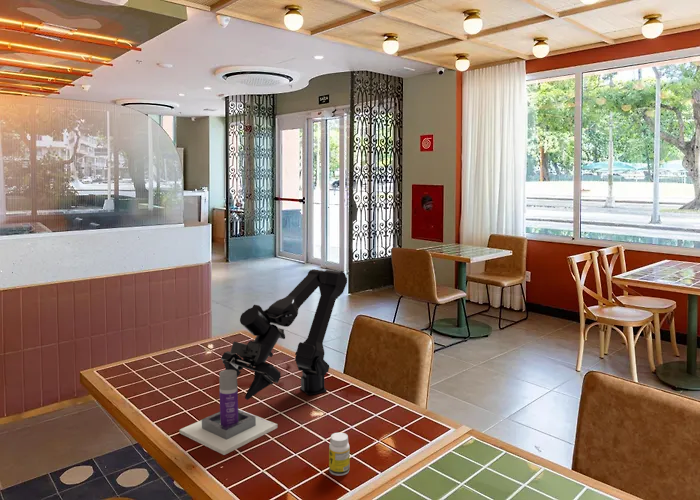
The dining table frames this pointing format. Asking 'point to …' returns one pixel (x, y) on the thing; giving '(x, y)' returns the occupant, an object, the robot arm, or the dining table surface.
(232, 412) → the container
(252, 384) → the robot arm
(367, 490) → the dining table surface
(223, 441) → the mat
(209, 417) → the collar
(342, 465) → the supplement bottle
